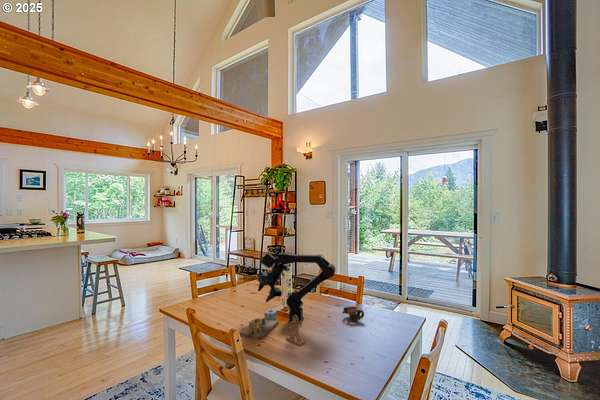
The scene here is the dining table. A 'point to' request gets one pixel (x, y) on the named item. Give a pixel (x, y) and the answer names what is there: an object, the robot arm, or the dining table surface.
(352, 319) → the pottery mug
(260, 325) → the gear board
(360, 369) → the dining table surface
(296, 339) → the gingerbread man figurine
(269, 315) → the loose gear
